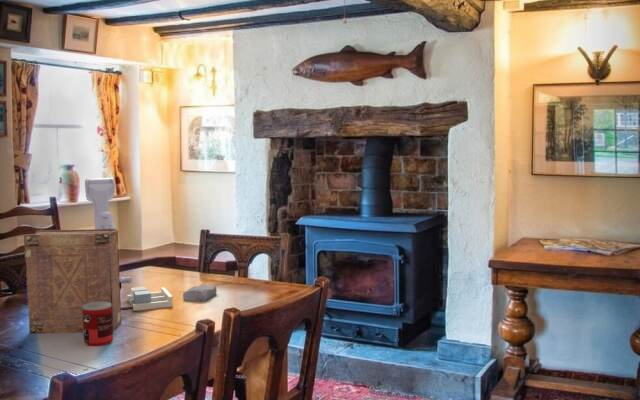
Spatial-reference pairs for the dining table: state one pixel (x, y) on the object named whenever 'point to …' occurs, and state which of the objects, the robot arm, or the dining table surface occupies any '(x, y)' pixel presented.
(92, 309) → the canned food
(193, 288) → the stone block
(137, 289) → the cream cube
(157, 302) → the lane rack
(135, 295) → the tethered block
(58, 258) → the book
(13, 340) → the dining table surface
